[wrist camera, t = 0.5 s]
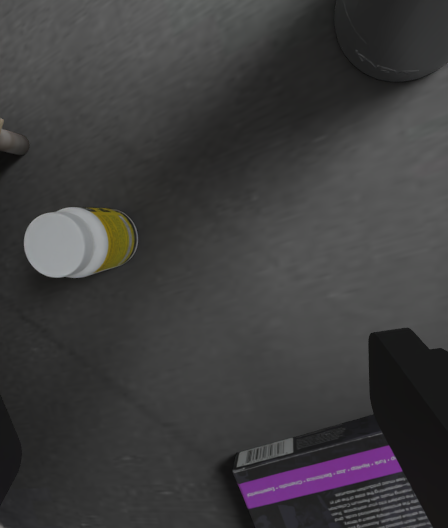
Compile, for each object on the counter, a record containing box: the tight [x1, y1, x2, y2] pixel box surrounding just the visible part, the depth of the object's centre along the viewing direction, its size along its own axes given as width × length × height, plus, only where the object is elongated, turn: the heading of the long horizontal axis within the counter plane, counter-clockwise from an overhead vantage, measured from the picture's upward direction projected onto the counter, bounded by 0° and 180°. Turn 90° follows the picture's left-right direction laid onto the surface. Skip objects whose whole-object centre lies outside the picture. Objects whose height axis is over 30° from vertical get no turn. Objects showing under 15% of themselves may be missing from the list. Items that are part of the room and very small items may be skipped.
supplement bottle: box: [24, 207, 138, 278], centre depth 29 cm, size 5×5×8 cm
